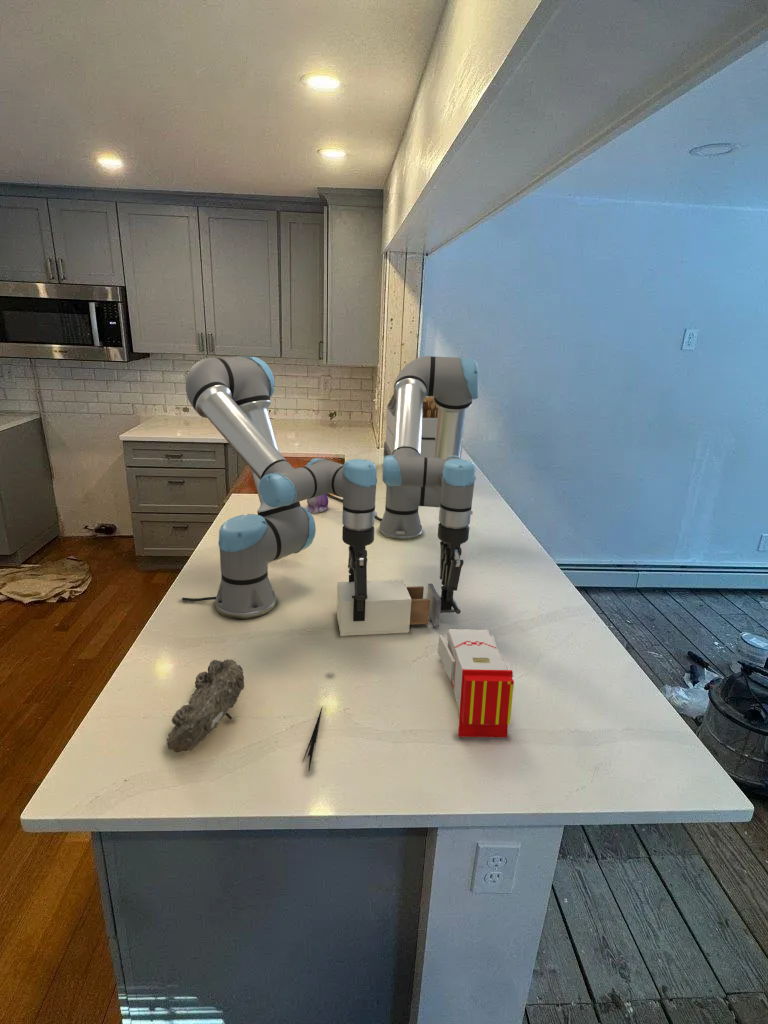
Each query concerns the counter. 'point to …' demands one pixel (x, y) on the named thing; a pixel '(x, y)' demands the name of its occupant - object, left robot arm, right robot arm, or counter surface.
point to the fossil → (206, 705)
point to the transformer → (427, 427)
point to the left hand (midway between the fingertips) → (356, 608)
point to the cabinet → (375, 608)
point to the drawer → (427, 605)
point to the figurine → (317, 503)
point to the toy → (478, 682)
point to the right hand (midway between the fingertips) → (445, 610)
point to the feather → (313, 740)
